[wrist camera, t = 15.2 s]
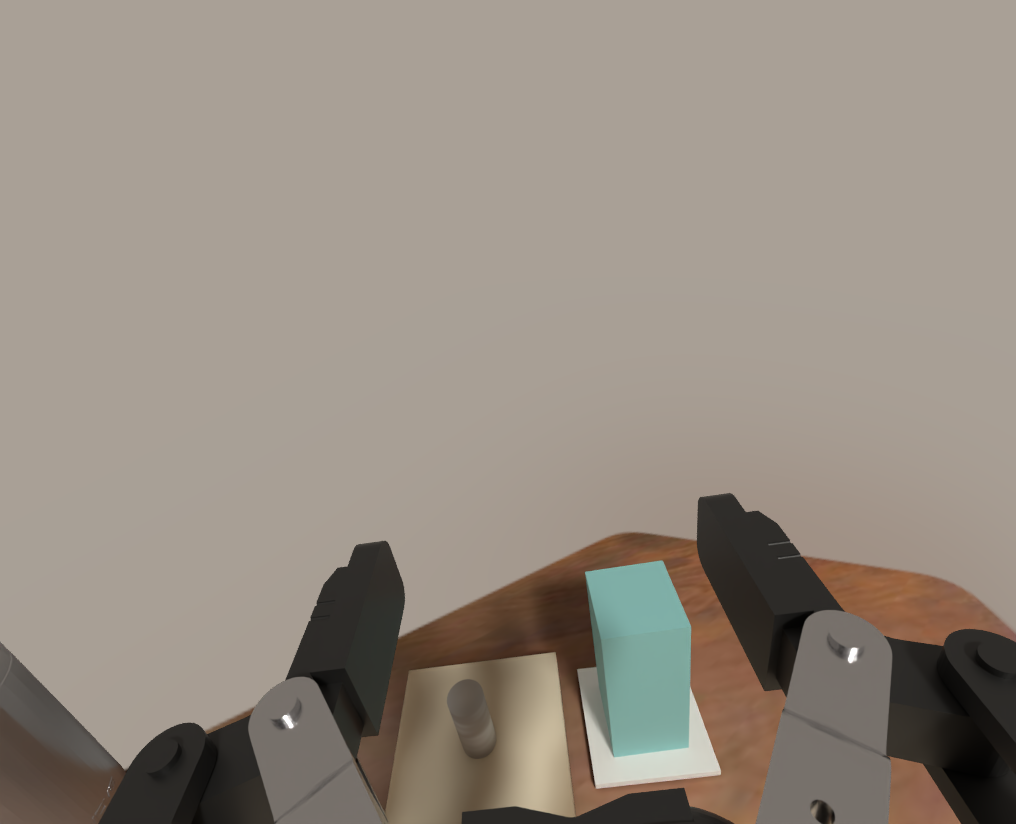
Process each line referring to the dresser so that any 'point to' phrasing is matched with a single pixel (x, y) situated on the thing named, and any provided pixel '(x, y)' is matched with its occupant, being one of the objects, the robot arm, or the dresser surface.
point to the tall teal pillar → (641, 657)
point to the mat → (647, 765)
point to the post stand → (481, 742)
